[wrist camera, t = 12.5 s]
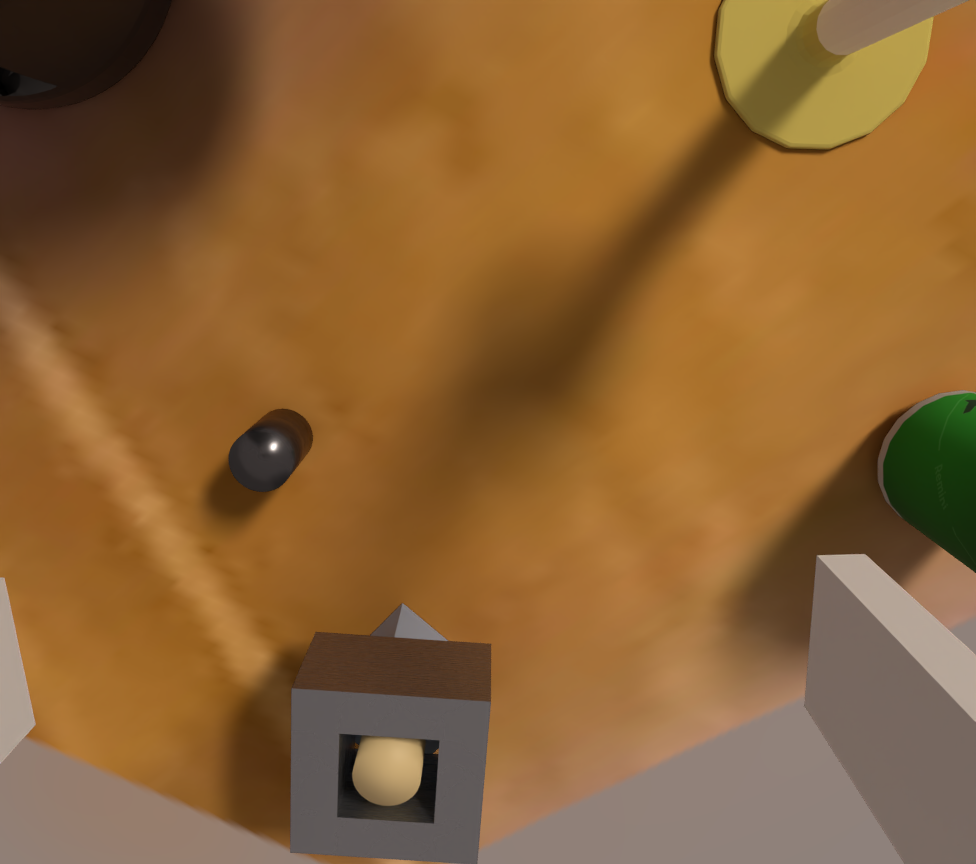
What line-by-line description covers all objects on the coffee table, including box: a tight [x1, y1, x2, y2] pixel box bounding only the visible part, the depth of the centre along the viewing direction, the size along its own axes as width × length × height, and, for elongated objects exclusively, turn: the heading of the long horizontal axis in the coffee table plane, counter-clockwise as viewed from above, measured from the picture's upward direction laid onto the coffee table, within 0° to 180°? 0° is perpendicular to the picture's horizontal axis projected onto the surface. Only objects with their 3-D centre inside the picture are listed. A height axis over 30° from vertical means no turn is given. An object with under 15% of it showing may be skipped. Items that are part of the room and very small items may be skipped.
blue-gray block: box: [352, 603, 448, 806], centre depth 41 cm, size 6×6×9 cm
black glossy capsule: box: [229, 409, 313, 492], centre depth 40 cm, size 3×3×4 cm
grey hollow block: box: [290, 632, 491, 864], centre depth 39 cm, size 9×9×5 cm
